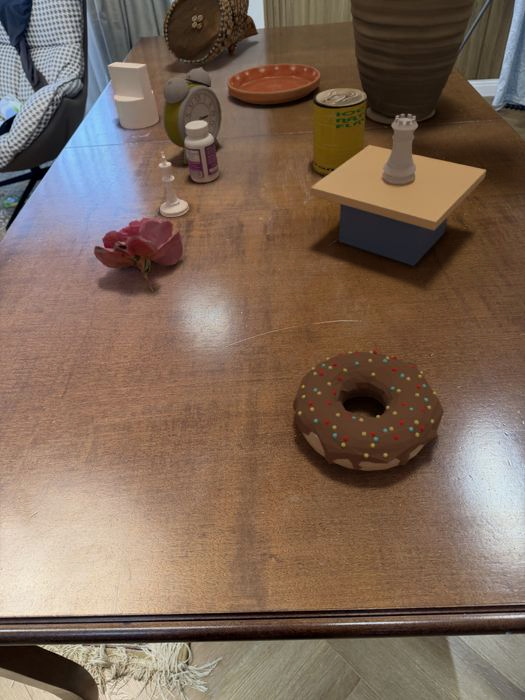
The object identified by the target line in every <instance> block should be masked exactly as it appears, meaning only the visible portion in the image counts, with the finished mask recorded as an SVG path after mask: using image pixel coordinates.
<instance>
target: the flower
mask: <svg viewBox="0 0 525 700" xmlns="http://www.w3.org/2000/svg"><path fill="white" fill-rule="evenodd" d="M173 228H174V223H173V222H172V221H170V220H168V219H166V218H165V219H164V220H163V219H160V218H157V217H149V218H148V217H142V219H140V220H137V219H136V220H131V221H129V222H128V226H125V227H123V228H122V229H120V230H119V231H117V230H109V231H108V232H106V233H105V235H104V236H103V237H102V238H101V239H102V243H103V247H102V246H100V245H95V246H94V249H93V254H94V256H95V258H96V259H97V260H98V261H99V262H100V263H101V264H102V265H103V266H104V267H106V268H109V269H115V270H116V269H122V268H126V267H130V266H134V267H137V269H139V270H140V272H141V275H142V276H143V277H144V279H145V280H146V282H147V283H148V285H149V288H150V289H151V291H152V293H154V290H153V287H152V286H151V284H150V282H149V281H148V276H150V275H149V272H150V269H151V266H152V265H151V264H152V261H154V262H155V263H156V264H158V265H162V266H165V267H166V266H167V267H168V266H173V265H176V264H177V263H178V262H179V261H180V260H181V258H182V257H183V250H184V246H183V239H182V236H181V234H180V232H179V231H176V232H174V233H173V230H174V229H173ZM147 275H148V276H147Z"/></svg>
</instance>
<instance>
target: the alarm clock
mask: <svg viewBox="0 0 525 700" xmlns="http://www.w3.org/2000/svg"><path fill="white" fill-rule="evenodd" d="M162 92H163V97H164V99H165V100H164V104H163V107H162V108H163V109H162V123H163V128H164V131H165V134H166V136H167V138H168V139H169V140H170V142H172V143H173V144H174V145H175V146H177V147H179V148H182V151H183V157H184V158H183V159H184V160H183V161H184V164H186V165H188V160H187V155H186V149H185V144H184V141H185V138H186V137H187V136H188V135H187V134H186V129H185V125H186V124H187V123H189V122H192V121H199V120H201V121H206V122H207V123H208V128H209V132H208V133H210V134H211V135H212V136H213V138H214V142H215V148H219V147H220V143H219V140H218V139H217V138H218V136H219V132H220V130H221V127H222V126H221V125H222V105H221V102H220V99H219V98H218V95H217V94H216V92H214V90H213V89H212V79H211V77H210V74H209V73H208V71H206V70H204V68H203V67H202V66H199V67H198V68H192V69H191V70H189V71H188V72H187V75H186V76H185V79H184V78H181V77H175V76H174V77H171V78H169V79H168V80H167V81H166V82H165V84H164V86H163V91H162Z"/></svg>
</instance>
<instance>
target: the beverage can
mask: <svg viewBox="0 0 525 700" xmlns="http://www.w3.org/2000/svg"><path fill="white" fill-rule="evenodd" d="M366 97H367V95H366V94H365V93H364V91H363V90H361V89H357V88H350V87H349V88H348V87H337V88H330V89H329V88H328V89H325V90H321V91H319V92H317V93H316V94H314V95H313V97H312V167H313V170H314V171H315V172H316V173H318V174H320V175H324V176H327V175H328V174H330V173H331V172H333V171H334V170H335V169H337V168H338V167H340V166H341V165H342V164H344V163H345V162H346V161H348V160H349V159H351V158H352V157H353V156H355V155H356V154H358V153H359V152H360V151H362V150H363V149H364V141H365V125H366V110H367V98H366Z"/></svg>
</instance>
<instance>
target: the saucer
mask: <svg viewBox="0 0 525 700" xmlns="http://www.w3.org/2000/svg"><path fill="white" fill-rule="evenodd" d="M226 83H227V91H228V93H229V94H230V95H231V96H232V97H234V98H236V99H238V100H240V101H241V102H244V103H248V104H254V105H277V104H285V103H288V102H289V103H290V102H294V101H297V100H299V99H302V98H304V97H306V96H308V95H309V94H310V93H312V92H313V91H314V90H316V89H317V88H318V87H319V86H320V84H321V72H320V71H319V70H318V69H317V68H315V67H313V66H309V65H305V64H300V63H299V64H298V63H277V64H276V63H274V64H266V65H260V66H254V67H251V68H250V67H249V68H247V69H244V70H241V71H239V72H237V73H235V74H233V75H231V76H230V77H229V78H228V80H227V82H226Z"/></svg>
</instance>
